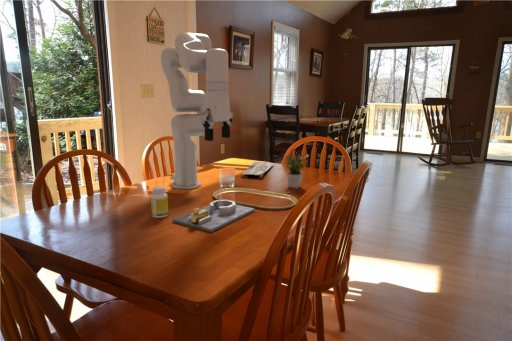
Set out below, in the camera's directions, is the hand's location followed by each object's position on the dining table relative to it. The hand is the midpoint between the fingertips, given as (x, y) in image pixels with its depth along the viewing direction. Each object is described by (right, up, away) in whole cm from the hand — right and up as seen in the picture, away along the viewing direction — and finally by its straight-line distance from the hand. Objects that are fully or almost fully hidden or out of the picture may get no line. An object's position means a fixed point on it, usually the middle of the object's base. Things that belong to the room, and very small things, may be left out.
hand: (217, 139), depth 124 cm
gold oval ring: (+12, -23, +18) cm, 32 cm away
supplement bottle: (-19, -26, -2) cm, 33 cm away
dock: (-1, -26, -2) cm, 26 cm away
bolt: (-5, -26, -9) cm, 28 cm away
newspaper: (+15, -12, +69) cm, 71 cm away
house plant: (+29, -18, +38) cm, 51 cm away
